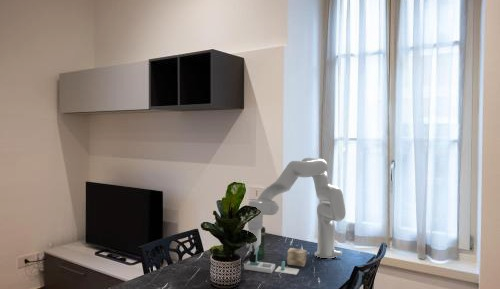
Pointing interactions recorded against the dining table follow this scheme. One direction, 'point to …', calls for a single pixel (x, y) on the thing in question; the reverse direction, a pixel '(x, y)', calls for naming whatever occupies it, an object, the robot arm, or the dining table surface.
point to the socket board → (260, 267)
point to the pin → (256, 258)
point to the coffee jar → (261, 245)
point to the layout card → (286, 269)
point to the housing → (296, 257)
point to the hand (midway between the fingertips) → (253, 260)
